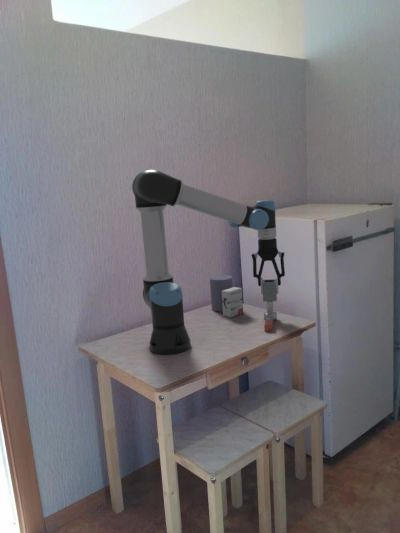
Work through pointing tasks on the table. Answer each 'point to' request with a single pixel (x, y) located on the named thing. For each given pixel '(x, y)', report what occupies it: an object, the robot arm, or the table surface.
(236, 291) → the ink box
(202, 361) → the table surface
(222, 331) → the table surface
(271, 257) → the robot arm
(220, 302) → the container
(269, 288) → the socket
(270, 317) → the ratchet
